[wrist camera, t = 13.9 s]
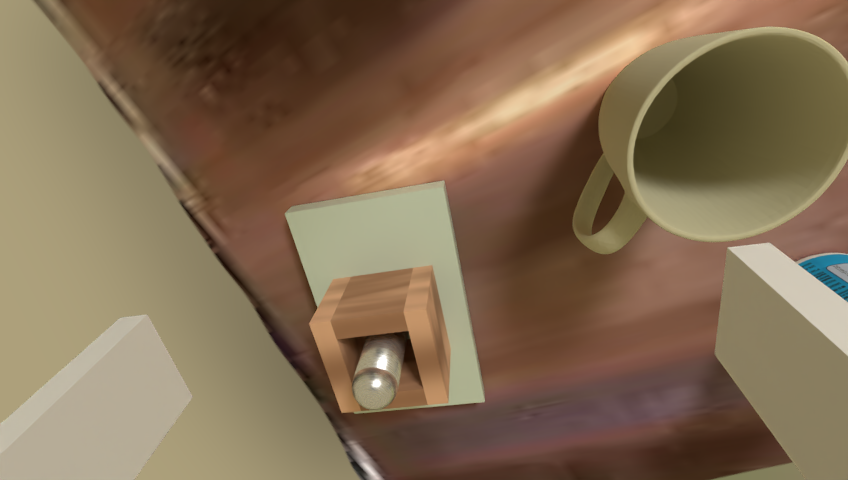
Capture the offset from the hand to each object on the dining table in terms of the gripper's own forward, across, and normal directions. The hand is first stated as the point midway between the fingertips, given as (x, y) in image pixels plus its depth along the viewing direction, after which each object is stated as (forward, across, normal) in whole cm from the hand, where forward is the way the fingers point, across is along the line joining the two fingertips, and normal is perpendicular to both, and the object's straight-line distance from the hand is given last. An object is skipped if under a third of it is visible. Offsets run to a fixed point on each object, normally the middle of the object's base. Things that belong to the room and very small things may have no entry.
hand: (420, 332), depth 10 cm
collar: (+21, -7, -14) cm, 26 cm away
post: (+21, -7, -14) cm, 26 cm away
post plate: (+23, -7, -14) cm, 28 cm away
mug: (+24, +12, -2) cm, 26 cm away
